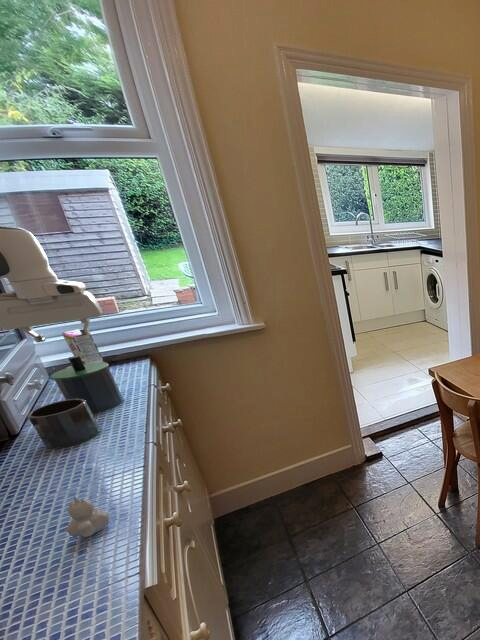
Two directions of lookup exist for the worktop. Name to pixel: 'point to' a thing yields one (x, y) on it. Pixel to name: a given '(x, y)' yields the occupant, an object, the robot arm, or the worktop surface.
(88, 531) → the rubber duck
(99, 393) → the tin
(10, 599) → the worktop surface
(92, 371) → the lid
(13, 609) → the worktop surface
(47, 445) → the cup
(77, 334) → the candy bar box
